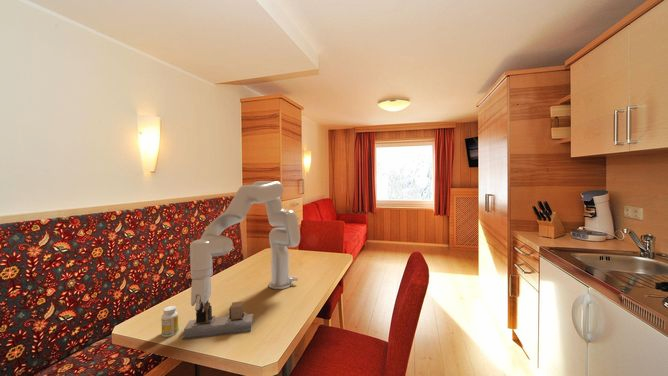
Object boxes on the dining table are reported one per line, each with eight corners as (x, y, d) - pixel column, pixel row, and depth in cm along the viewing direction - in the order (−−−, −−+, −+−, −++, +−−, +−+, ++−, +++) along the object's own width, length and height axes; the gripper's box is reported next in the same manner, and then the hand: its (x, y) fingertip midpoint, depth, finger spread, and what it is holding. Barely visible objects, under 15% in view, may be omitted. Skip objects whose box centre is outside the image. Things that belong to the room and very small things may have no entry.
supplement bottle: (164, 339, 95) (163, 313, 94) (159, 333, 98) (159, 308, 98) (180, 332, 99) (180, 307, 99) (175, 327, 102) (174, 303, 102)
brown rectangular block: (196, 324, 98) (195, 308, 98) (199, 318, 102) (199, 303, 102) (209, 322, 99) (208, 307, 99) (212, 317, 103) (211, 302, 103)
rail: (253, 317, 109) (253, 297, 109) (250, 331, 99) (250, 308, 99) (191, 324, 104) (190, 303, 104) (182, 339, 94) (181, 315, 94)
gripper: (198, 265, 107) (199, 309, 108) (183, 281, 91) (184, 332, 91) (217, 264, 109) (218, 307, 109) (206, 279, 92) (207, 329, 93)
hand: (203, 318), depth 100 cm, fingers closed on brown rectangular block, 3 cm apart
